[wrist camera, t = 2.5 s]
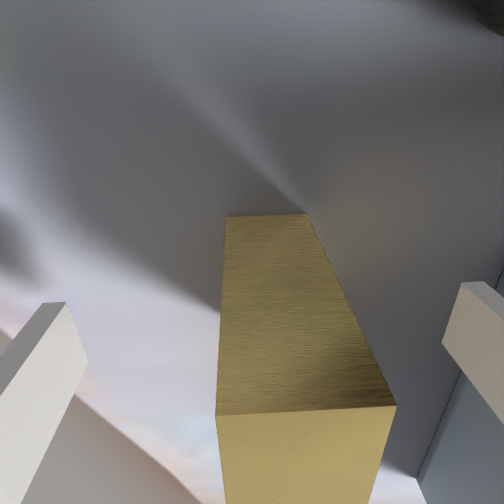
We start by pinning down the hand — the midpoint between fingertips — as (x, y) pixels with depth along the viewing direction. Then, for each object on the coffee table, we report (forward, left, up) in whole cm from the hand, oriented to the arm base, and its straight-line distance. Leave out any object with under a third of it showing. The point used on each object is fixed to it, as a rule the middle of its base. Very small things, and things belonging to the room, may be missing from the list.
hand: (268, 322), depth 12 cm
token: (0, 0, -3) cm, 3 cm away
